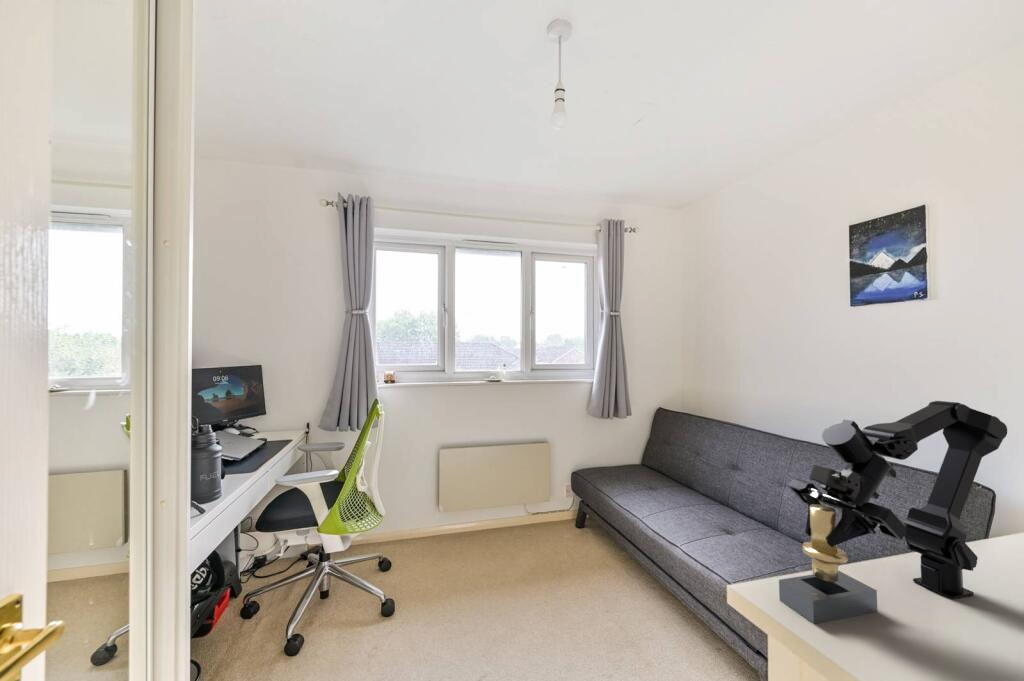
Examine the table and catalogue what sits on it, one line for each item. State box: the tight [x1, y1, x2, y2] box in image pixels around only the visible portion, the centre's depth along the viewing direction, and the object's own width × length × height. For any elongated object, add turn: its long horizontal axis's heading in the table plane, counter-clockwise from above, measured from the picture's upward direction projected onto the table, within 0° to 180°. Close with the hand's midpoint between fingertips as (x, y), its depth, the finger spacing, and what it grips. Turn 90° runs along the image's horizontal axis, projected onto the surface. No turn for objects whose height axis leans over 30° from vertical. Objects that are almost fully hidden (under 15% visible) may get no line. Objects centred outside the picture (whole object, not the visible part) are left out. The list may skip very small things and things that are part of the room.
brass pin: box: [802, 504, 848, 582], centre depth 76 cm, size 7×7×13 cm
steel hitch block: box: [778, 570, 878, 624], centre depth 75 cm, size 15×7×4 cm, turn 102°
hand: (817, 539), depth 75 cm, fingers closed on brass pin, 4 cm apart
